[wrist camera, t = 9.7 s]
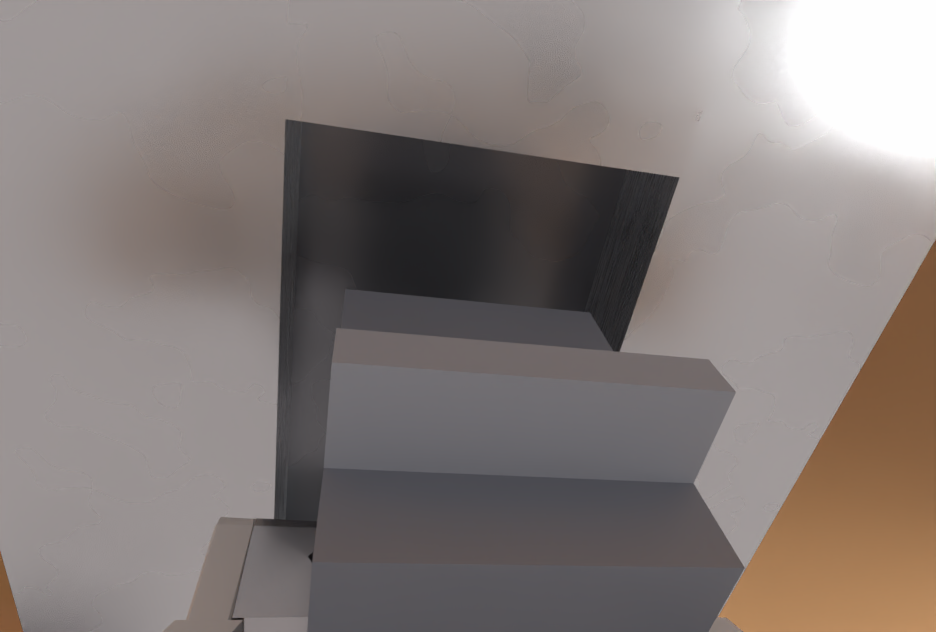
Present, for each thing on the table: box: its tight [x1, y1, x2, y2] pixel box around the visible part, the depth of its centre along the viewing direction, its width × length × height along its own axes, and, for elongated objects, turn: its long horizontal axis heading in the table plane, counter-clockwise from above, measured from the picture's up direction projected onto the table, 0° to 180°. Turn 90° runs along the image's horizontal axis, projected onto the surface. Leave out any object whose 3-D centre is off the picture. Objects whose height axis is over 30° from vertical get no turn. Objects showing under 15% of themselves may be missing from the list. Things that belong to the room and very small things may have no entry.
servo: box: [307, 289, 745, 632], centre depth 9 cm, size 4×10×6 cm, turn 170°
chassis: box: [0, 0, 936, 632], centre depth 13 cm, size 18×22×2 cm
